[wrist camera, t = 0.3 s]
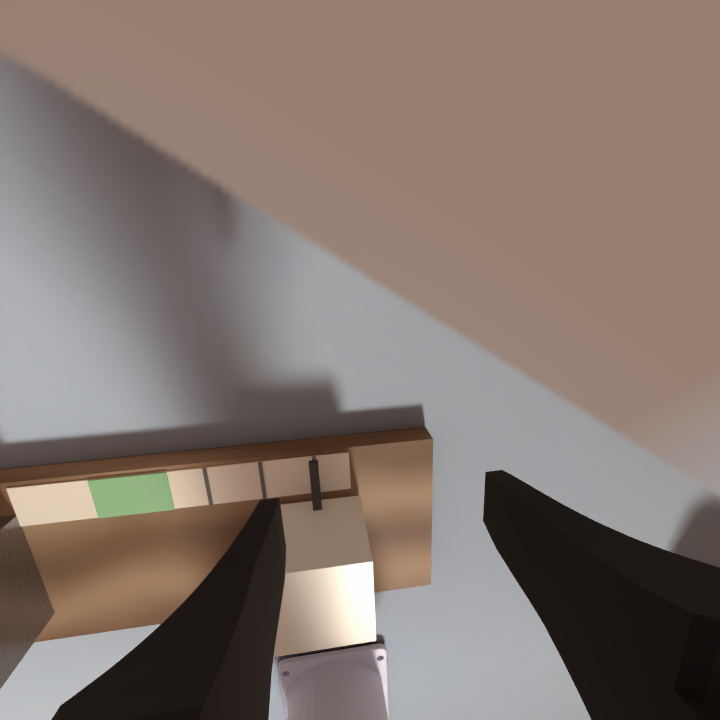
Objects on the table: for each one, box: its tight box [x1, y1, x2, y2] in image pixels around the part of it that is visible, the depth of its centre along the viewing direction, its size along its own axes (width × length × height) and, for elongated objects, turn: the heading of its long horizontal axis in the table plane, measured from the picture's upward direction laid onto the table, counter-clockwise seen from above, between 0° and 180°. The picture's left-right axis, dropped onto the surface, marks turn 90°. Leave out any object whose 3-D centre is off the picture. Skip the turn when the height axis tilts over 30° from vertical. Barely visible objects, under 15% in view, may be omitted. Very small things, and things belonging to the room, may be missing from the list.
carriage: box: [274, 460, 376, 657], centre depth 19 cm, size 8×5×5 cm, turn 3°
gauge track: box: [0, 427, 433, 689], centre depth 20 cm, size 11×26×6 cm, turn 93°
